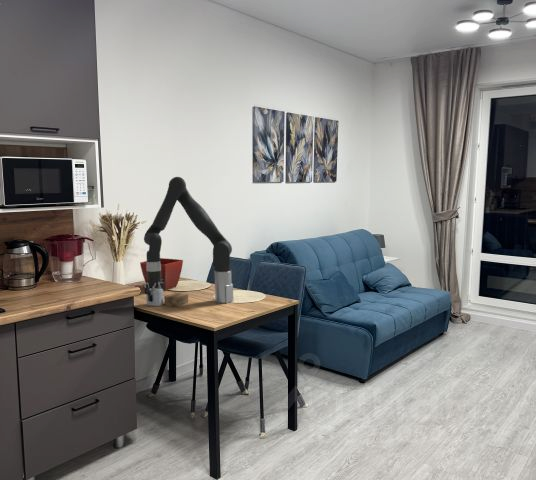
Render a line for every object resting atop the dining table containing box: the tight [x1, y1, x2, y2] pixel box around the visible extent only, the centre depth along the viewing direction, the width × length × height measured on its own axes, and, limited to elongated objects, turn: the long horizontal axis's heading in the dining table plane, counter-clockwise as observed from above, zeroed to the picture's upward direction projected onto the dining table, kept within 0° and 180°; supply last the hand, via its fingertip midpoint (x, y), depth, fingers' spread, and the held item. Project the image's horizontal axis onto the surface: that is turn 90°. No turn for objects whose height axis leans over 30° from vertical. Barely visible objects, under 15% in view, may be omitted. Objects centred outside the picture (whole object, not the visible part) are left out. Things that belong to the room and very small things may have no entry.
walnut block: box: [163, 292, 189, 308], centre depth 264 cm, size 9×9×5 cm
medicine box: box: [145, 288, 165, 307], centre depth 262 cm, size 8×4×9 cm, turn 74°
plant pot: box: [139, 257, 184, 291], centre depth 301 cm, size 19×19×17 cm
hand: (155, 300), depth 263 cm, fingers open, 5 cm apart
